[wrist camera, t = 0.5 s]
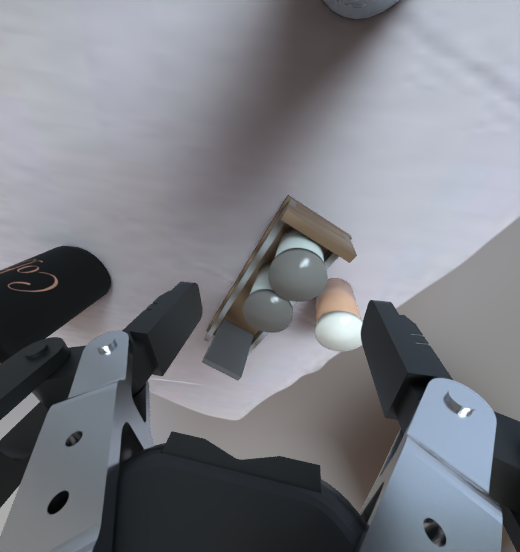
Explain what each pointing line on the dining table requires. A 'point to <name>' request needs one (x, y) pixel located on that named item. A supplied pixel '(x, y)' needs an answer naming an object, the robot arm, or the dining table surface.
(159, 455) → the robot arm
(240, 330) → the pusher paddle
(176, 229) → the dining table surface
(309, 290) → the grey jar
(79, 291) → the coffee jar
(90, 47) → the dining table surface
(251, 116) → the dining table surface
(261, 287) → the grey jar
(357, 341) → the terracotta jar
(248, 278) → the jar lane
